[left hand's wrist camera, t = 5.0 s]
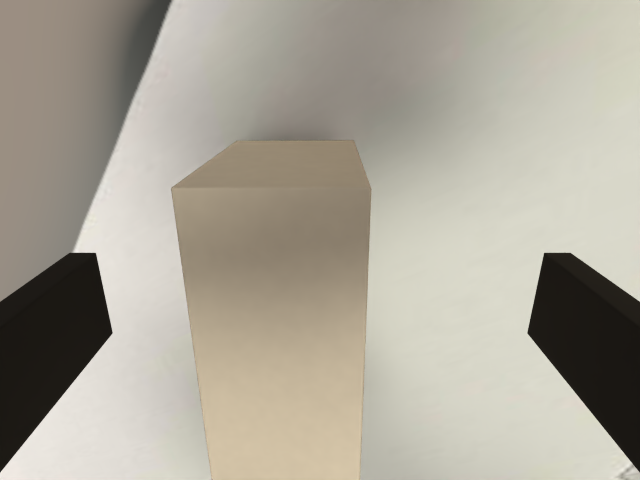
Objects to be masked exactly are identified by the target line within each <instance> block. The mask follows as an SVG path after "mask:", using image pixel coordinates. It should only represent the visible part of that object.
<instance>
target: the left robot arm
mask: <svg viewBox="0 0 640 480" xmlns="http://www.w3.org/2000/svg"><path fill="white" fill-rule="evenodd" d="M111 335H112V328H111V323H110V319H109V314H108V309H107V304H106V299H105V295H104V290H103V285H102V280H101V276H100V271H99V266H98V261H97V256H96V253H69V254H67V255H66V256H65V257H63V258H62V259H60V260H59V261H57V262H56V263H55V264H53V265H52V266H50V267H49V268H48V269H46V270H45V271H43V272H42V273H40V274H39V275H38V276H36V277H35V278H33V279H32V280H31V281H29V282H28V283H26V284H25V285H24V286H22V287H21V288H19V289H18V290H16V291H15V292H14V293H12V294H11V295H9V296H8V297H7V298H5V299H4V300H2V301H1V302H0V472H1V471H2V470H3V468H4V467H5V466H6V465H7V463H8V462H9V461H10V460H11V458H12V457H13V456H14V455H15V453H16V452H17V451H18V450H19V448H20V447H21V446H22V445H23V444H24V442H25V441H26V440H27V439H28V437H29V436H30V435H31V434H32V432H33V431H34V430H35V429H36V427H37V426H38V425H39V424H40V422H41V421H42V420H43V419H44V418H45V416H46V415H47V414H48V413H49V411H50V410H51V409H52V408H53V406H54V405H55V404H56V403H57V401H58V400H59V399H60V398H61V396H62V395H63V394H64V393H65V391H66V390H67V389H68V388H69V387H70V385H71V384H72V383H73V382H74V380H75V379H76V378H77V377H78V375H79V374H80V373H81V372H82V370H83V369H84V368H85V367H86V365H87V364H88V363H89V362H90V361H91V359H92V358H93V357H94V356H95V354H96V353H97V352H98V351H99V349H100V348H101V347H102V346H103V344H104V343H105V342H106V341H107V339H108V338H109V337H110V336H111ZM528 335H529V336H530V337H531V338H532V339H533V341H534V342H535V343H536V344H537V346H538V347H539V348H540V349H541V351H542V352H543V353H544V354H545V356H546V357H547V358H548V359H549V361H550V362H551V363H552V364H553V365H554V367H555V368H556V369H557V370H558V372H559V373H560V374H561V375H562V377H563V378H564V379H565V380H566V382H567V383H568V384H569V385H570V387H571V388H572V389H573V390H574V391H575V393H576V394H577V395H578V396H579V398H580V399H581V400H582V401H583V403H584V404H585V405H586V406H587V408H588V409H589V410H590V411H591V413H592V414H593V415H594V416H595V418H596V419H597V420H598V421H599V422H600V424H601V425H602V426H603V427H604V429H605V430H606V431H607V432H608V434H609V435H610V436H611V437H612V439H613V440H614V441H615V442H616V444H617V445H618V446H619V447H620V448H621V450H622V451H623V452H624V453H625V455H626V456H627V457H628V458H629V460H630V461H631V462H632V463H633V465H634V466H635V467H636V468H637V470H638V471H639V472H640V302H639V301H638V300H636V299H635V298H634V297H632V296H631V295H629V294H628V293H626V292H625V291H624V290H622V289H621V288H619V287H618V286H617V285H615V284H614V283H612V282H611V281H609V280H608V279H607V278H605V277H604V276H602V275H601V274H600V273H598V272H597V271H595V270H594V269H592V268H591V267H590V266H588V265H587V264H585V263H584V262H583V261H581V260H580V259H578V258H577V257H575V256H574V255H573V254H571V253H544V256H543V261H542V266H541V271H540V276H539V280H538V285H537V290H536V295H535V299H534V304H533V309H532V314H531V319H530V323H529V328H528Z"/></svg>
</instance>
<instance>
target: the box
mask: <svg viewBox="0 0 640 480" xmlns="http://www.w3.org/2000/svg"><path fill="white" fill-rule="evenodd" d="M171 191H172V198H173V205H174V212H175V220H176V227H177V234H178V241H179V248H180V255H181V263H182V270H183V277H184V284H185V291H186V298H187V305H188V313H189V320H190V327H191V334H192V341H193V348H194V356H195V363H196V370H197V377H198V384H199V391H200V399H201V406H202V413H203V420H204V427H205V434H206V442H207V449H208V456H209V463H210V470H211V477H212V480H360V466H361V440H362V415H363V389H364V363H365V338H366V312H367V287H368V261H369V235H370V210H371V187H370V184H369V181H368V178H367V176H366V173H365V170H364V167H363V165H362V162H361V159H360V156H359V154H358V151H357V148H356V145H355V143H354V141H353V140H296V141H236V142H234V143H233V144H232V145H230V146H229V147H227V148H226V149H225V150H223V151H222V152H220V153H219V154H218V155H216V156H215V157H214V158H212V159H211V160H209V161H208V162H207V163H205V164H204V165H202V166H201V167H200V168H198V169H197V170H195V171H194V172H193V173H191V174H190V175H189V176H187V177H186V178H184V179H183V180H182V181H180V182H179V183H177V184H176V185H175V186H173V187H172V188H171Z"/></svg>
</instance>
